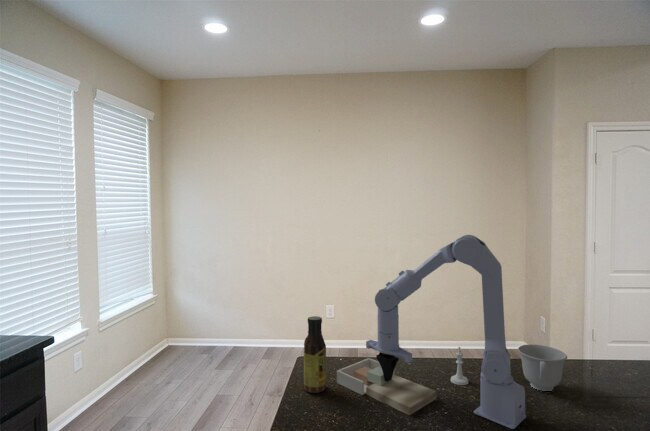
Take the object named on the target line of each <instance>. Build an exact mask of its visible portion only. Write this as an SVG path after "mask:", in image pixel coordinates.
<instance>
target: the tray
mask: <svg viewBox="0 0 650 431" xmlns="http://www.w3.org/2000/svg"><path fill="white" fill-rule="evenodd" d="M365 366H366V367H368V368H370V369H374V368H376V367H381V365H380V363H379V361H378V360H375V359H373V358H370V357H367V358H365V359H362V360H360V361H358V362H355V363H353V364H350V365H348V366H345V367H343V368H340V369H338V370H336V384H338V385H341V386H342V387H345V388H347V389H348V390H350V391H353V392H355V393H357V394H359V395H361V396H364V395H365V394H366V387H368V386H370V385H372V384H374V383H371V384H369V385H364V382H363V381H361V380H359V379H357V378H355V377H354V371H356V370H358V369H361V368H363V367H365ZM393 374H394V375H395V371H394V372H393Z"/></svg>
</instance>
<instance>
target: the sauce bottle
mask: <svg viewBox="0 0 650 431" xmlns="http://www.w3.org/2000/svg"><path fill="white" fill-rule="evenodd" d="M322 323H323V318H322V317H320V316H317V315H316V316H309V317H308V318H307V324H308V326H307V327H308V328H307V336H306V337H305V339H304V344H303V388H304V390H305V391H306V392H308V393H311V394H318V393H322V392H323V391H325V389H326V383H327V345H326V343H325V342H326V341H325V339H324V336H323V334H322Z"/></svg>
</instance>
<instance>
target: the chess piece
mask: <svg viewBox="0 0 650 431" xmlns="http://www.w3.org/2000/svg"><path fill="white" fill-rule="evenodd" d="M457 350H458V352H456V353H455V356H456V359H457V360H456V361H455V363H456V364H457V369H456V374H454V375H452V376H451V377H450V382H451V383H453V384H455V385H458V386H466V385H468V384H469V379H468V378H467V377H466V376H464V374H463V370H462V369H463V368H462V365H463V364H464V361H463V357H464V353H462V350H461V347H460V346H458V348H457Z"/></svg>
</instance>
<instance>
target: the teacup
mask: <svg viewBox="0 0 650 431" xmlns="http://www.w3.org/2000/svg"><path fill="white" fill-rule="evenodd" d="M517 351H518V352H519V353H520V358H521V365H522V366H521V367H522V372H523V376H524V377H525V379H526V380H527V381H529V383H530V384H529V385H531V386H530V387H531V388H532V387H533V388H532V389H534V388H535V389H537V390H536V391H538V390H542V391H552V390H553V389H554V390H555V388H554V387H557V386H559V384H560V383H561V381H562V377H563V371H564V364H565V361H566V360H567V359H568V355H567V354H566V353H565V352H563V351H562V350H560V349H557V348H554V347H552V346H547V345H543V344H542V345H541V344H524V345H520V346H519V347H518V348H517ZM535 389H534V390H535ZM554 390H553V391H554ZM542 391H541V392H542ZM553 391H552V392H553Z"/></svg>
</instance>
